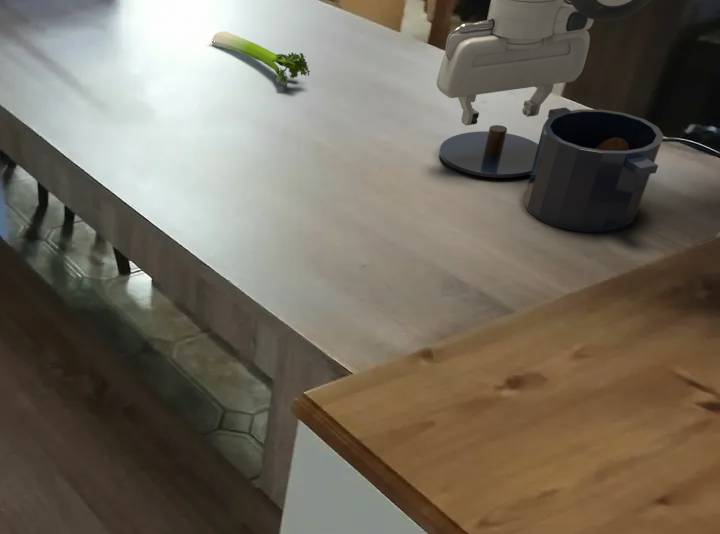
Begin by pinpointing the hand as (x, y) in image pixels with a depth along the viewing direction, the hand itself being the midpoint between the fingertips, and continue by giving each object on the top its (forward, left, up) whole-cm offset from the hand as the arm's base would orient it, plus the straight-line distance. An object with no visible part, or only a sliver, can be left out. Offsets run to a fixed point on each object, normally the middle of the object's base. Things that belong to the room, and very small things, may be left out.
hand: (499, 119), depth 131 cm
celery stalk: (+19, -48, -6) cm, 52 cm away
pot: (-3, +17, -6) cm, 18 cm away
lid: (0, 0, -5) cm, 5 cm away
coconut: (-4, +17, -5) cm, 18 cm away
